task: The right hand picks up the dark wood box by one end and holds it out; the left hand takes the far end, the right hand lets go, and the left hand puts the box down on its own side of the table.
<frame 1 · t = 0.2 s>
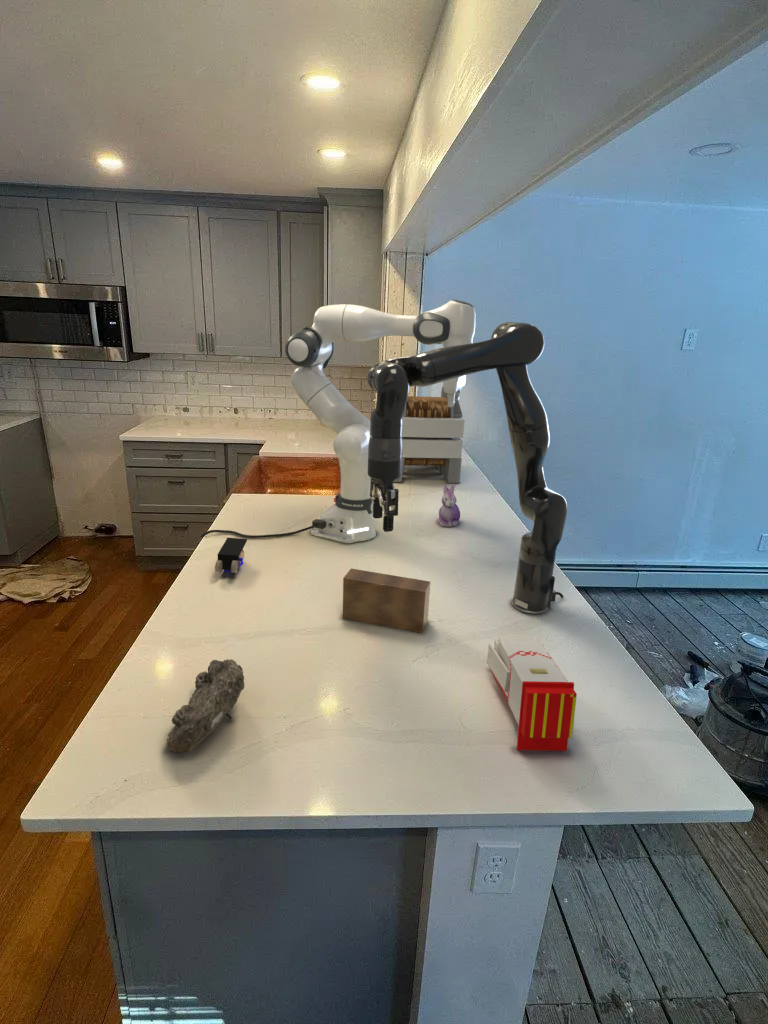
left hand: (453, 404, 174), 48 cm above the counter, tool pointing down, fingers open, 8 cm apart
right hand: (382, 524, 130), 28 cm above the counter, tool pointing down, fingers open, 8 cm apart
box: (384, 620, 144), on the counter
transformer: (419, 473, 275), on the counter
toy: (522, 702, 116), on the counter
fossil: (212, 717, 108), on the counter
black wheeled rover: (232, 569, 168), on the counter
figurine: (448, 523, 212), on the counter
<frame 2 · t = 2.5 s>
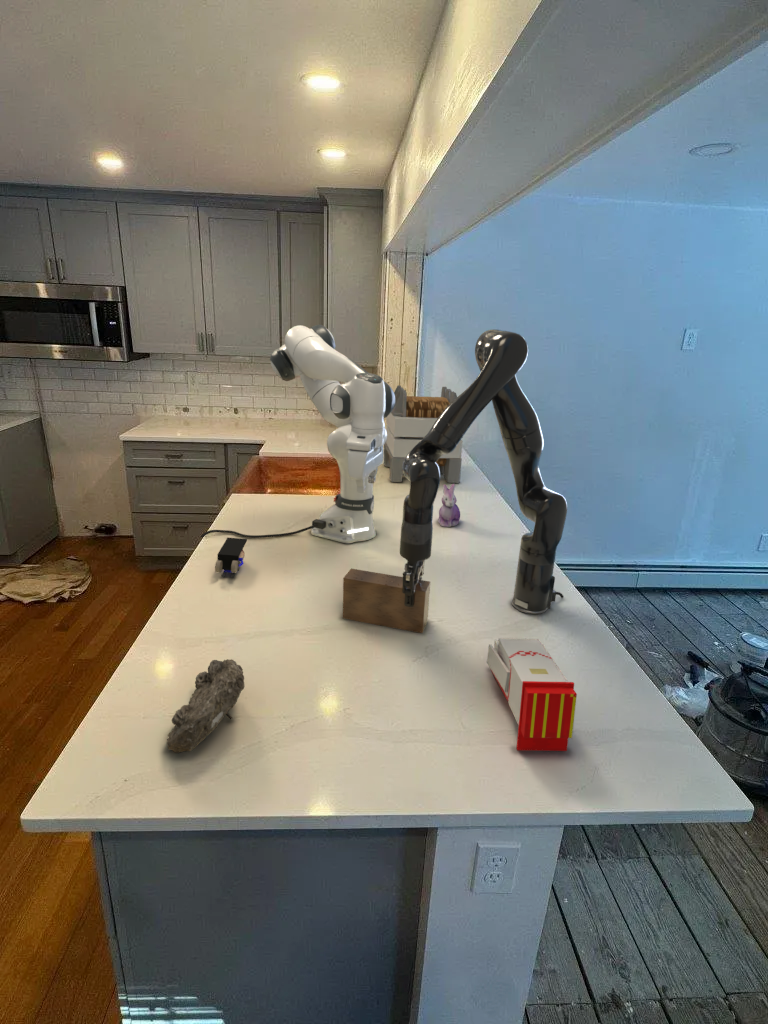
left hand: (366, 487, 154), 29 cm above the counter, tool pointing down, fingers open, 8 cm apart
right hand: (412, 599, 140), 7 cm above the counter, tool pointing down, fingers closed on box, 6 cm apart
box: (384, 620, 144), on the counter, touching right hand
everything else where it was.
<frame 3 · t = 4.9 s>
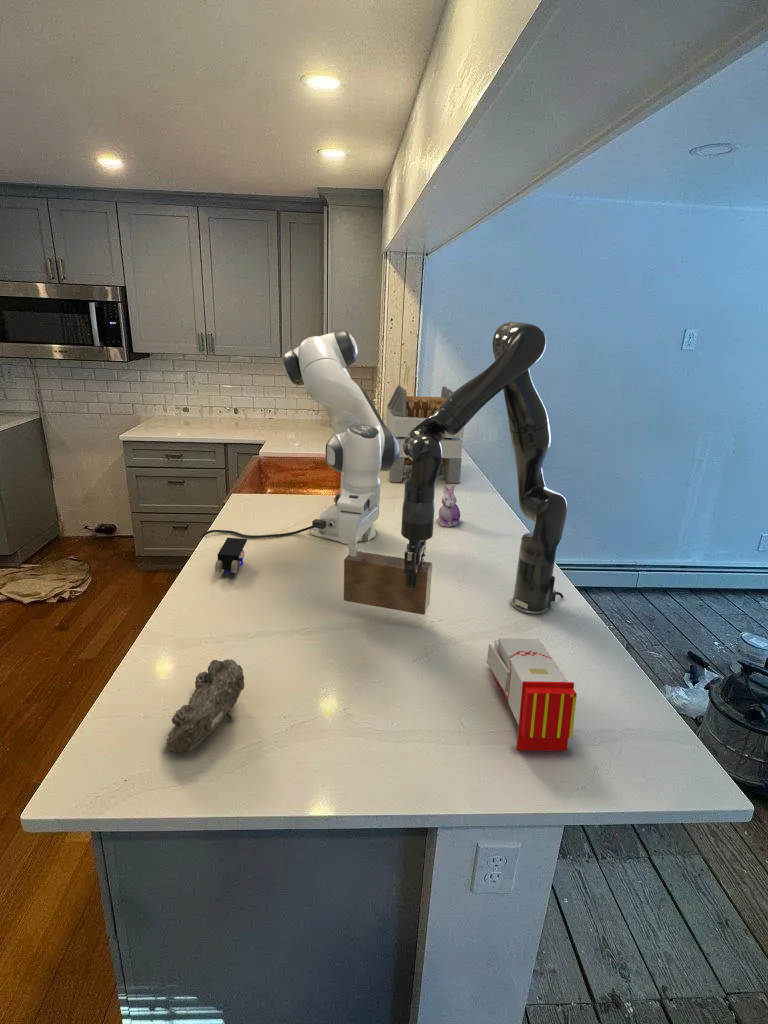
left hand: (359, 547, 140), 19 cm above the counter, tool pointing down, fingers open, 8 cm apart
right hand: (413, 581, 139), 12 cm above the counter, tool pointing down, fingers closed on box, 6 cm apart
box: (386, 602, 143), point 5 cm above the counter, touching right hand
everything else where it was.
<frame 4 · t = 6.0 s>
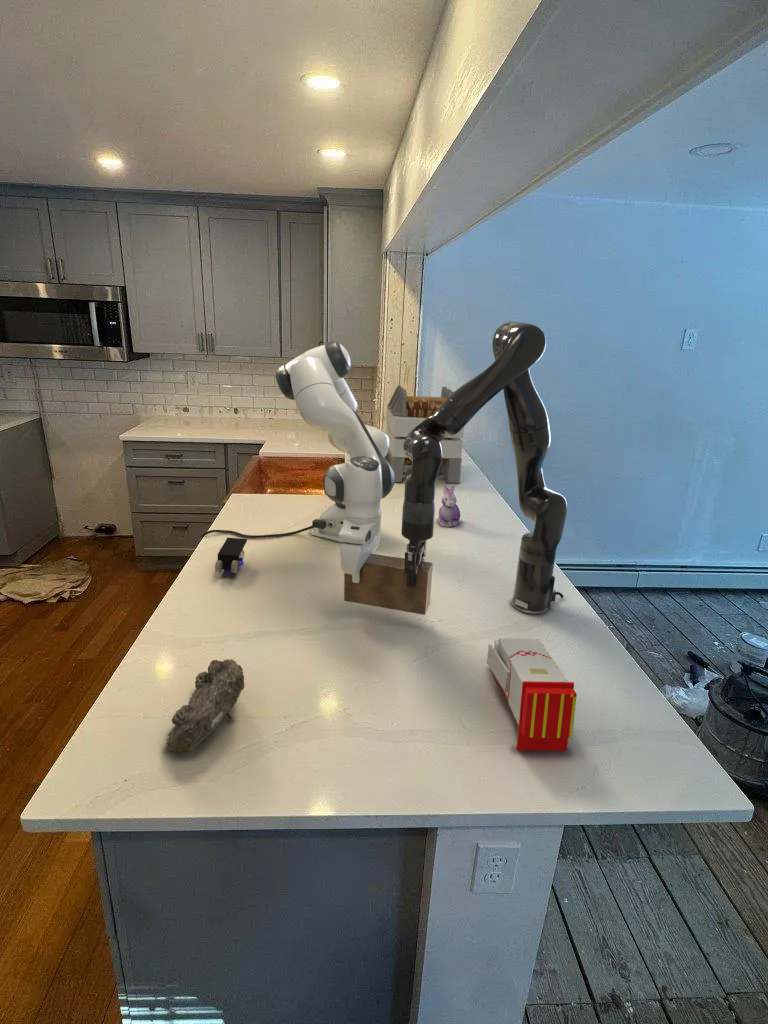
left hand: (361, 575, 142), 11 cm above the counter, tool pointing down, fingers closed on box, 6 cm apart
right hand: (414, 581, 139), 12 cm above the counter, tool pointing down, fingers closed on box, 6 cm apart
box: (386, 602, 143), point 5 cm above the counter, touching left hand, right hand
everything else where it was.
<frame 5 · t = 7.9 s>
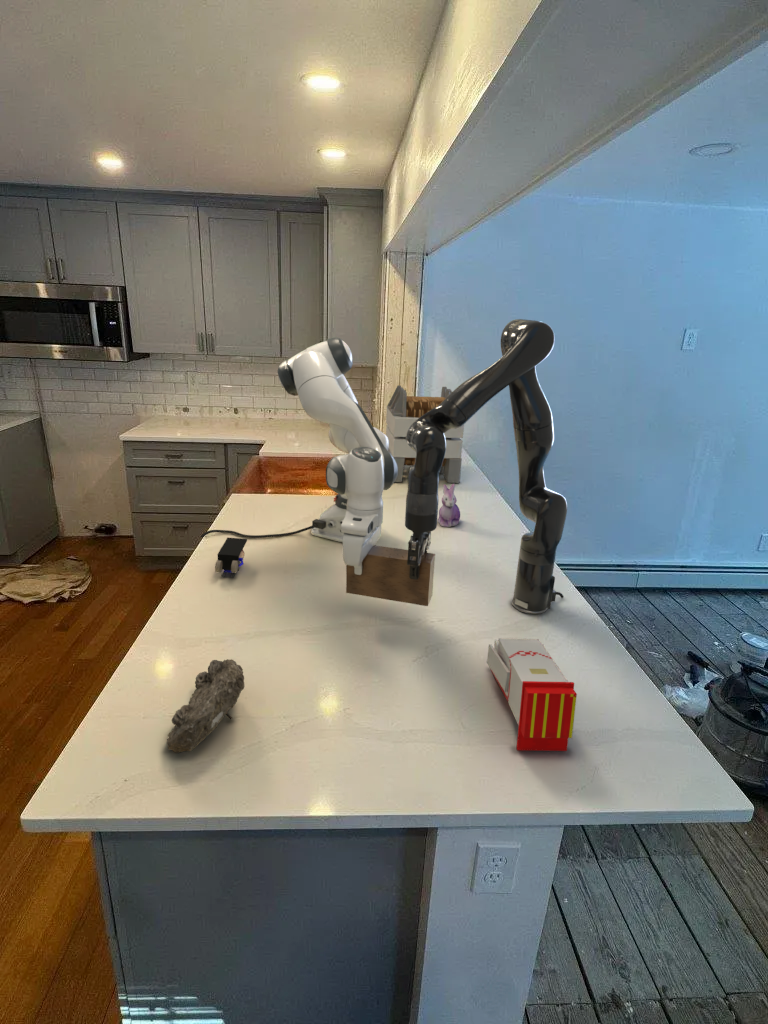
left hand: (363, 567, 142), 14 cm above the counter, tool pointing down, fingers closed on box, 6 cm apart
right hand: (418, 571, 138), 15 cm above the counter, tool pointing down, fingers open, 8 cm apart
box: (389, 594, 142), point 7 cm above the counter, touching left hand
everything else where it was.
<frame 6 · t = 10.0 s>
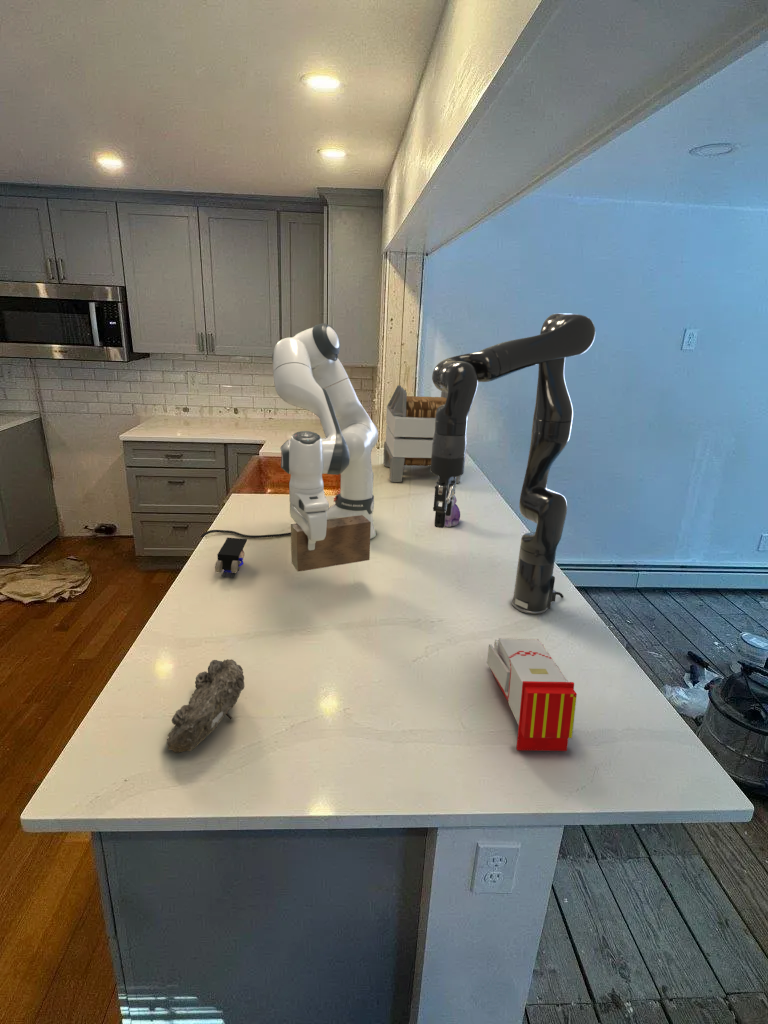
left hand: (306, 544, 152), 14 cm above the counter, tool pointing down, fingers closed on box, 6 cm apart
right hand: (442, 520, 131), 29 cm above the counter, tool pointing down, fingers open, 8 cm apart
box: (330, 561, 157), point 8 cm above the counter, touching left hand
everything else where it was.
when the left hand's fingers open (8 cm above the counter, at t = 11.5 s): box drops 2 cm, on the counter.
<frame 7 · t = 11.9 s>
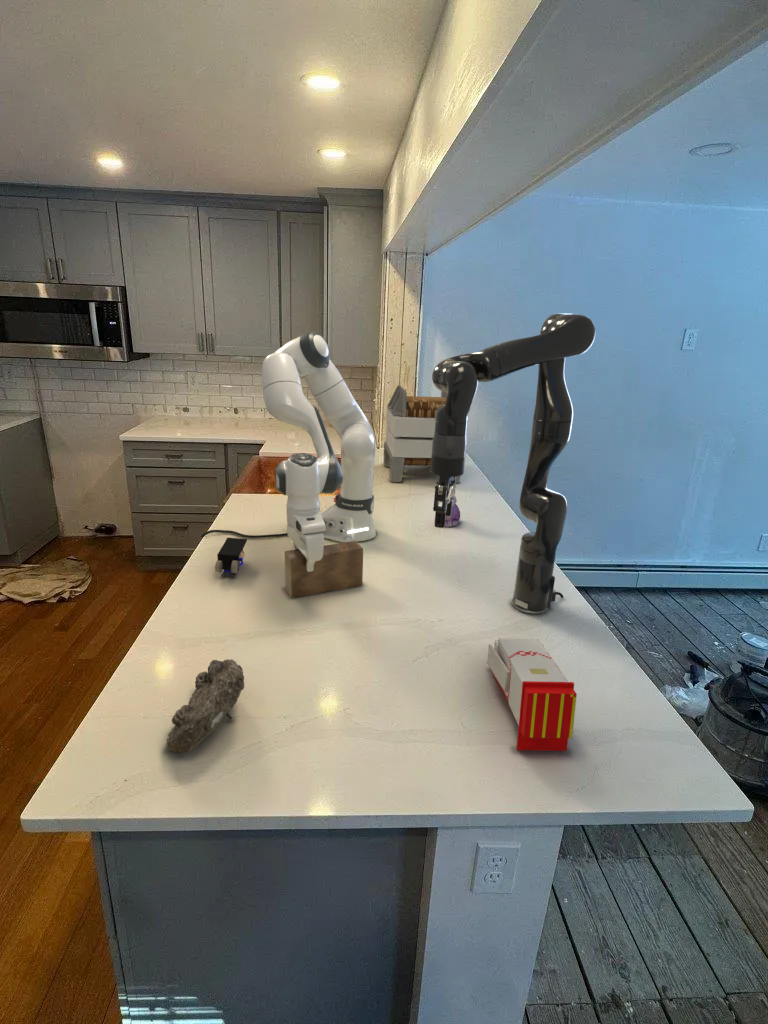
left hand: (303, 563, 154), 8 cm above the counter, tool pointing down, fingers open, 8 cm apart
right hand: (442, 520, 131), 29 cm above the counter, tool pointing down, fingers open, 8 cm apart
box: (324, 587, 160), on the counter
everything else where it was.
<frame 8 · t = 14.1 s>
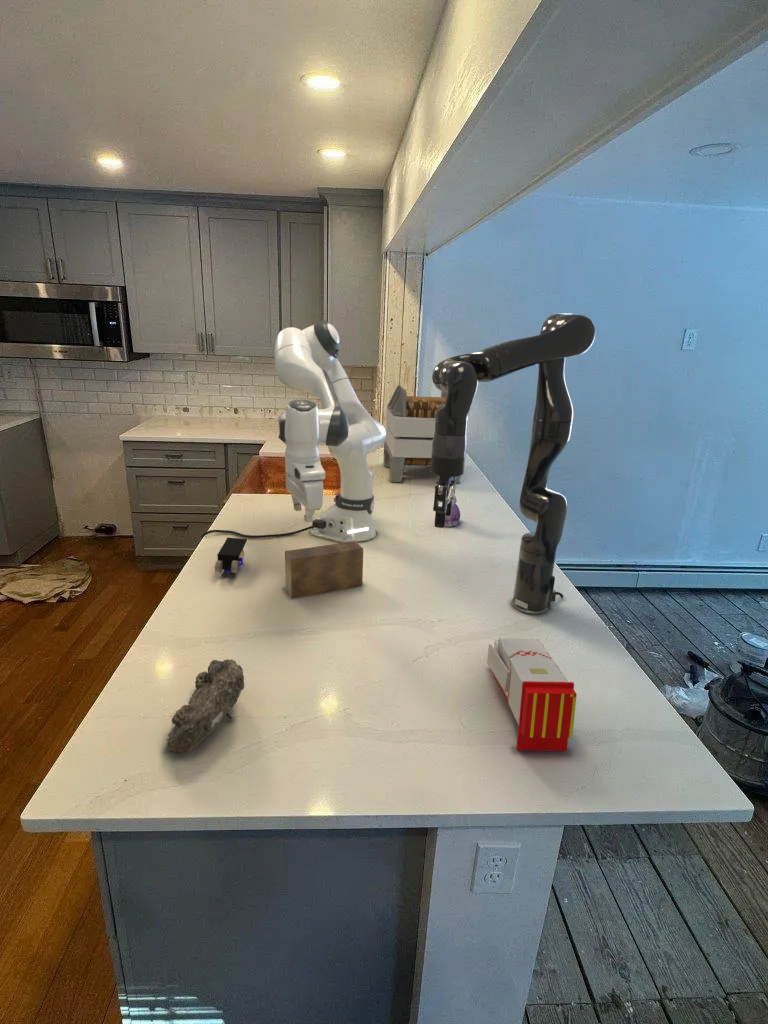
left hand: (302, 515, 150), 22 cm above the counter, tool pointing down, fingers open, 8 cm apart
right hand: (442, 520, 131), 29 cm above the counter, tool pointing down, fingers open, 8 cm apart
nothing on the counter moved.
at the end: box inside the target area (6.2 cm from its centre), on the counter; the left hand is holding nothing; the right hand is holding nothing; box at rest at the end (0.0 cm/s) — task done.
